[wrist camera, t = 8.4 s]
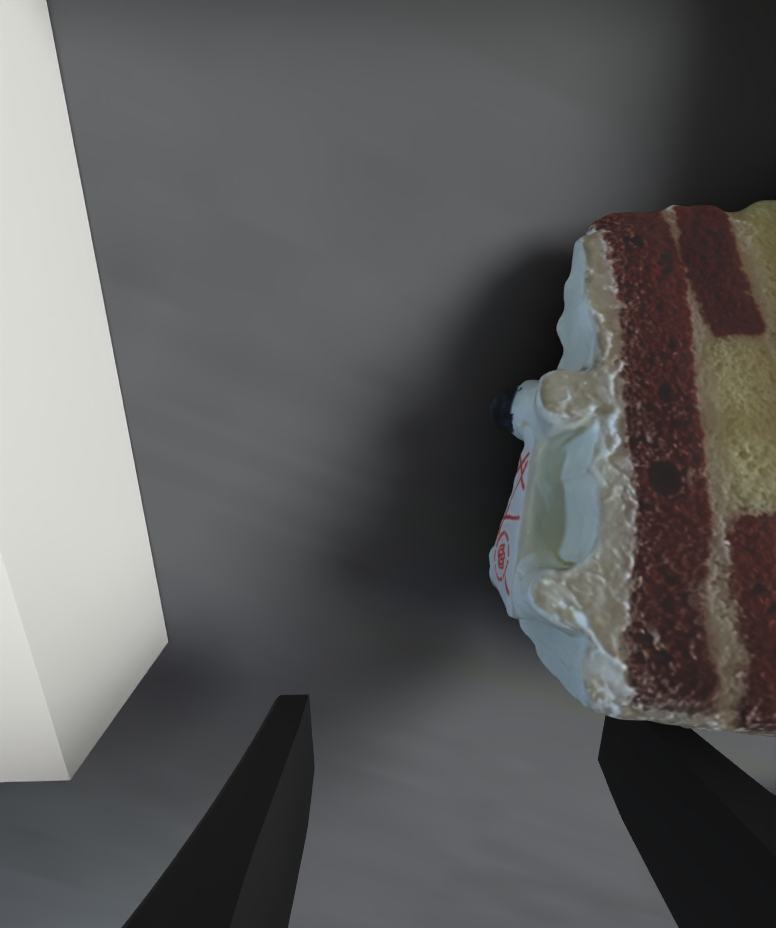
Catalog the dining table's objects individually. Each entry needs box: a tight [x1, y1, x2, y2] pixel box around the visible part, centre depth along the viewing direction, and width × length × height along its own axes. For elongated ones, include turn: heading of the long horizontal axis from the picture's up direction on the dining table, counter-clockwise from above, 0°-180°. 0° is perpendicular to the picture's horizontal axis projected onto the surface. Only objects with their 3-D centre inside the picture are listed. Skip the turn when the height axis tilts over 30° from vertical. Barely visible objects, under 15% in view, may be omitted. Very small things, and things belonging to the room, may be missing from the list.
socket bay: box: [0, 0, 168, 782], centre depth 8 cm, size 19×18×4 cm
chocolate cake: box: [489, 200, 776, 737], centre depth 9 cm, size 10×7×12 cm
